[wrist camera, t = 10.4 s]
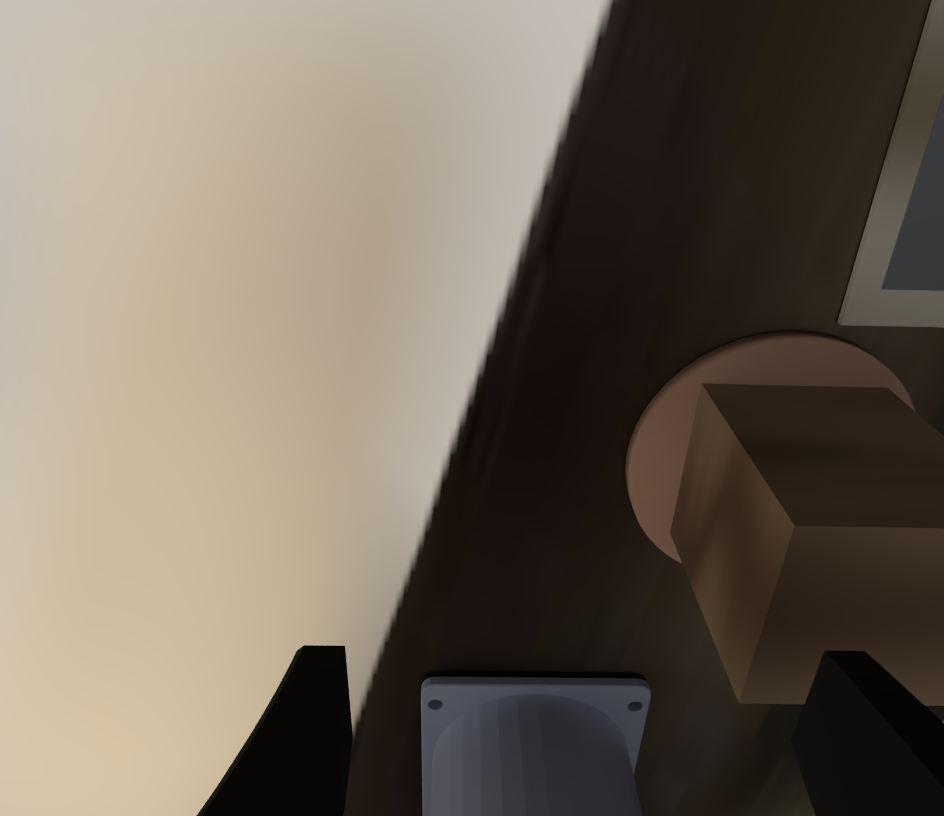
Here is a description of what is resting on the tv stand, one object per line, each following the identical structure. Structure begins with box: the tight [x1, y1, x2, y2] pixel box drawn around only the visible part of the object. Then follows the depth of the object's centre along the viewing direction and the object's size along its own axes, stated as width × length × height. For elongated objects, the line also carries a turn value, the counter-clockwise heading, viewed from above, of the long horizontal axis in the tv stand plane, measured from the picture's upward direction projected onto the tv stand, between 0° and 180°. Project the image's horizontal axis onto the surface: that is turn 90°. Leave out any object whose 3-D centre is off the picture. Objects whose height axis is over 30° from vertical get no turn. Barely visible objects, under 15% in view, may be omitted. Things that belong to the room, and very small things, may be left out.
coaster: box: [625, 330, 915, 563], centre depth 20 cm, size 8×8×1 cm
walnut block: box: [670, 383, 944, 706], centre depth 17 cm, size 5×5×6 cm
